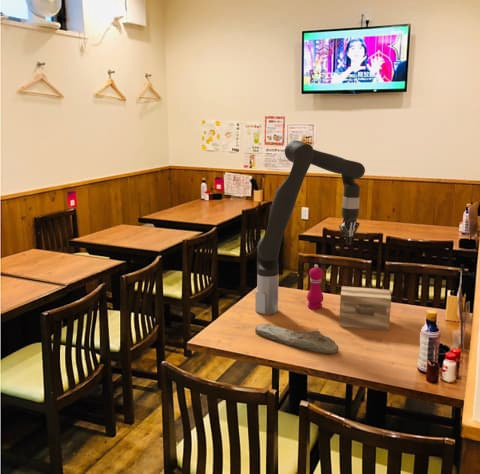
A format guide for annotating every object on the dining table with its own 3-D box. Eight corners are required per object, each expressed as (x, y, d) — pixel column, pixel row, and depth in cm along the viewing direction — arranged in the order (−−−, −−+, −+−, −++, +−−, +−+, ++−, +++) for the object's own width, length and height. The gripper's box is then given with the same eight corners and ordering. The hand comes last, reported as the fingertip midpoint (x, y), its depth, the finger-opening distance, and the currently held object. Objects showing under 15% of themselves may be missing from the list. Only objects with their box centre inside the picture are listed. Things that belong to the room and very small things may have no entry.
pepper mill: (304, 308, 227) (305, 265, 222) (310, 303, 233) (311, 261, 228) (319, 311, 224) (321, 267, 219) (325, 305, 230) (326, 263, 225)
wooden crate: (340, 315, 218) (341, 286, 215) (387, 320, 214) (389, 289, 211) (339, 326, 208) (340, 294, 205) (388, 330, 203) (391, 298, 200)
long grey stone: (263, 330, 208) (250, 339, 201) (262, 318, 207) (249, 327, 199) (343, 347, 188) (331, 359, 181) (342, 334, 187) (331, 345, 179)
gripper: (348, 209, 221) (346, 248, 226) (366, 206, 230) (363, 243, 234) (334, 207, 227) (332, 244, 231) (352, 204, 236) (350, 240, 240)
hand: (348, 243), depth 233 cm, fingers closed
